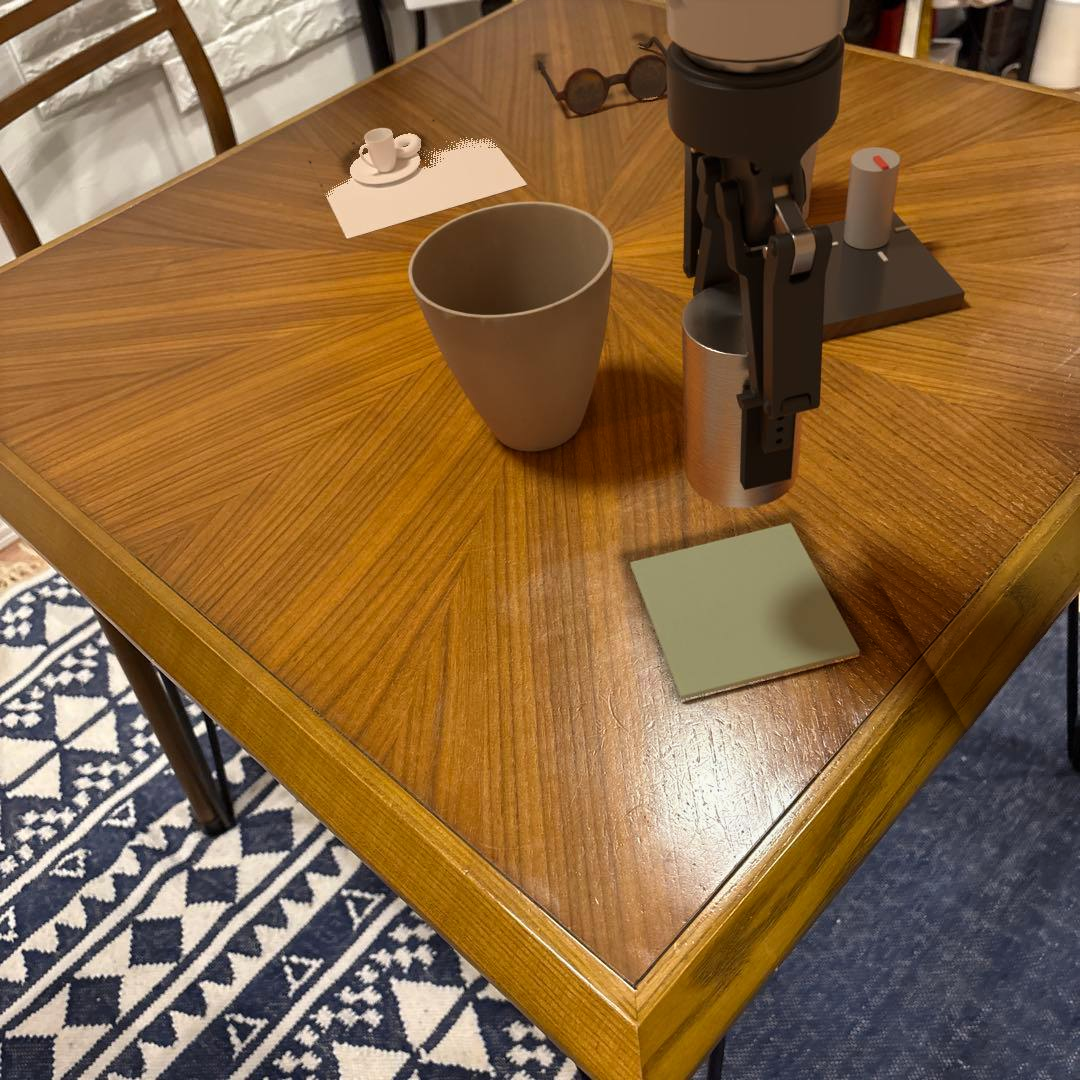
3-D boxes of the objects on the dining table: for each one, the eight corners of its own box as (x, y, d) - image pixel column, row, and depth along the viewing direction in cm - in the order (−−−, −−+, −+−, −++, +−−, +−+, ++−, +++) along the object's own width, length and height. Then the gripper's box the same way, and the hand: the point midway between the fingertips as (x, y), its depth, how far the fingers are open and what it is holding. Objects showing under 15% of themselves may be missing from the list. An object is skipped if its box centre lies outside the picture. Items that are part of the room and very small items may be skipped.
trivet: (790, 529, 80) (791, 522, 79) (859, 658, 71) (860, 650, 71) (630, 569, 79) (629, 561, 78) (681, 703, 71) (681, 696, 70)
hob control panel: (886, 233, 103) (890, 203, 101) (960, 321, 93) (966, 290, 91) (701, 276, 102) (700, 246, 100) (756, 369, 92) (757, 339, 90)
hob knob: (836, 230, 99) (843, 149, 94) (878, 220, 99) (888, 139, 94) (854, 253, 96) (863, 171, 91) (897, 243, 97) (909, 161, 91)
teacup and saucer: (417, 142, 126) (409, 108, 123) (437, 172, 121) (430, 137, 118) (343, 163, 125) (334, 129, 122) (360, 195, 119) (351, 160, 116)
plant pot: (638, 367, 94) (627, 199, 82) (610, 490, 84) (594, 319, 73) (471, 361, 97) (438, 199, 86) (425, 478, 88) (381, 314, 76)
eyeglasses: (558, 121, 126) (553, 78, 122) (532, 68, 136) (527, 27, 132) (682, 95, 126) (681, 52, 123) (647, 44, 137) (645, 2, 133)
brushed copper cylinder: (774, 421, 68) (782, 268, 60) (815, 493, 63) (831, 338, 55) (671, 445, 67) (665, 295, 59) (705, 519, 63) (704, 367, 55)
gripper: (609, -28, 53) (633, 353, 70) (749, 160, 40) (737, 575, 57) (758, -59, 54) (746, 327, 70) (945, 117, 40) (876, 541, 57)
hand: (742, 437), depth 64 cm, fingers closed on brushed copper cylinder, 7 cm apart
